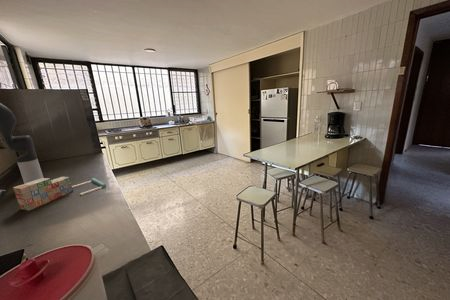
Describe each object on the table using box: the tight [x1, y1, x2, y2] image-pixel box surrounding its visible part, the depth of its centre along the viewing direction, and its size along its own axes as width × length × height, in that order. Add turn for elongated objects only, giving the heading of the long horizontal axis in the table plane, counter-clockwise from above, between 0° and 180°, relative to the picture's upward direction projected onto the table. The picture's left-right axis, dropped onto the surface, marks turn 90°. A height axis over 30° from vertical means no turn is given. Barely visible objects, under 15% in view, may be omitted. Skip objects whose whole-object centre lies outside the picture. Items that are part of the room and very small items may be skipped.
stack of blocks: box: [12, 176, 74, 212], centre depth 100 cm, size 21×6×12 cm, turn 163°
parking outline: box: [72, 177, 107, 196], centre depth 115 cm, size 19×13×2 cm
